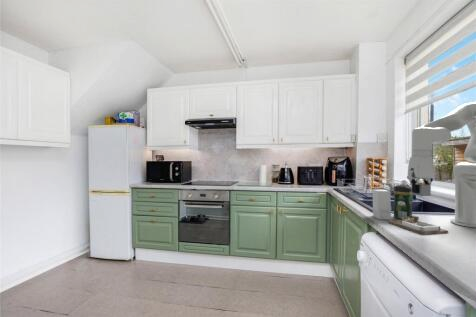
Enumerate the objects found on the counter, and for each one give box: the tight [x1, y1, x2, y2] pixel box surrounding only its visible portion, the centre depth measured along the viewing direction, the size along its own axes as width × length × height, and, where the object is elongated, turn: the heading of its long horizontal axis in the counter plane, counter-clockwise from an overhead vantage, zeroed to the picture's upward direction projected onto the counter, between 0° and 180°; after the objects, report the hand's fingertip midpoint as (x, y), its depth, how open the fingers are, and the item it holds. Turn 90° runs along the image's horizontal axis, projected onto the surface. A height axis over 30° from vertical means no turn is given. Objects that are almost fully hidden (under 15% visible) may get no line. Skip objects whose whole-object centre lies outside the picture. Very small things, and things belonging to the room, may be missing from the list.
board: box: [387, 214, 449, 236], centre depth 110 cm, size 14×18×4 cm
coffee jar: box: [393, 184, 413, 220], centre depth 128 cm, size 10×8×19 cm
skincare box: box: [372, 189, 392, 221], centre depth 127 cm, size 8×7×16 cm
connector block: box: [410, 181, 432, 197], centre depth 107 cm, size 5×5×6 cm
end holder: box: [402, 219, 441, 232], centre depth 107 cm, size 10×10×2 cm
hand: (420, 192), depth 107 cm, fingers closed on connector block, 5 cm apart
